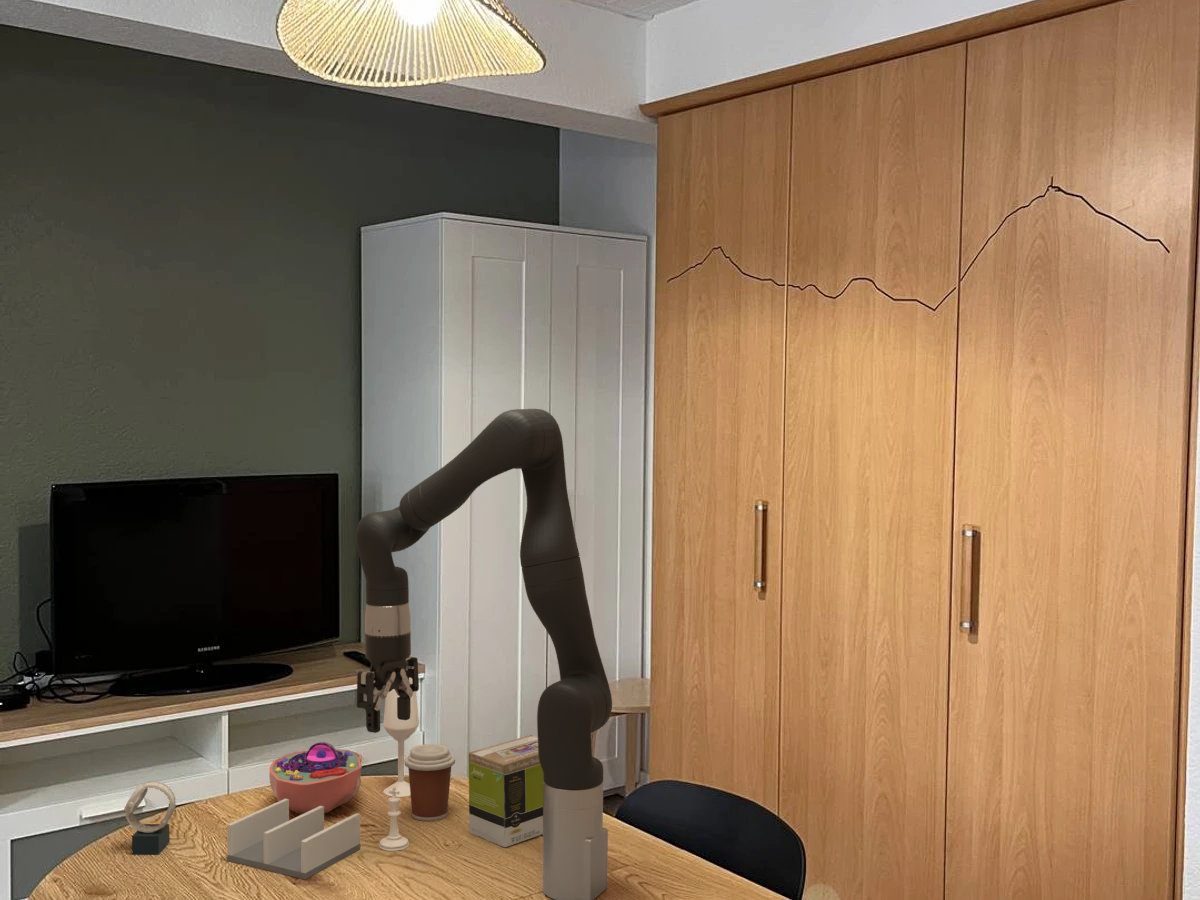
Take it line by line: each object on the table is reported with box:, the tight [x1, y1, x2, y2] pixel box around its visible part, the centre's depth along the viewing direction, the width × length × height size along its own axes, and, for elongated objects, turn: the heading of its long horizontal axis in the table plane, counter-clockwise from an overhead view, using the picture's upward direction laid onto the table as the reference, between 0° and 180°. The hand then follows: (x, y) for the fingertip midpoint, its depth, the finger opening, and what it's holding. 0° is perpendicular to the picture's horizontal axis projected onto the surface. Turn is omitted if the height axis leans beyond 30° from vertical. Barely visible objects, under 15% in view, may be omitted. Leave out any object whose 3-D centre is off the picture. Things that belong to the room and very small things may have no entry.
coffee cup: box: [404, 743, 456, 822], centre depth 220 cm, size 9×9×12 cm
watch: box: [123, 781, 177, 856], centre depth 203 cm, size 6×8×11 cm
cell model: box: [268, 741, 363, 815], centre depth 223 cm, size 17×20×11 cm
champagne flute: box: [382, 678, 420, 798], centre depth 232 cm, size 7×7×24 cm
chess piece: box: [378, 787, 410, 852], centre depth 206 cm, size 5×5×10 cm
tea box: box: [468, 734, 544, 848], centre depth 213 cm, size 15×10×15 cm, turn 135°
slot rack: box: [226, 799, 361, 880], centre depth 201 cm, size 16×14×6 cm
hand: (389, 725), depth 205 cm, fingers open, 8 cm apart
